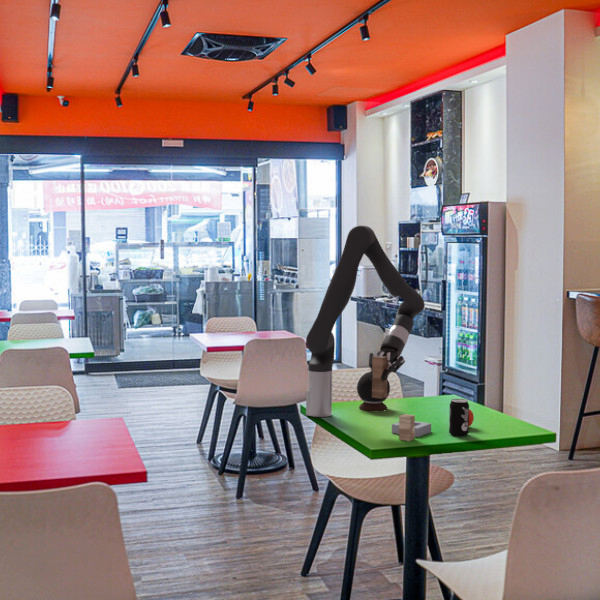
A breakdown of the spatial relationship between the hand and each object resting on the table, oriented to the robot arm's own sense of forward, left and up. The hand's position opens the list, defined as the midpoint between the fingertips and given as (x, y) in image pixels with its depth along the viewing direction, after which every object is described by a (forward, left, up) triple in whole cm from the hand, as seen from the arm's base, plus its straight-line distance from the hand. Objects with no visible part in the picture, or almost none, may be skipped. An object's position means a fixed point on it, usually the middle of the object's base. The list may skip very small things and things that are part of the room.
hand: (376, 379), depth 272 cm
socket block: (+11, +6, -19) cm, 23 cm away
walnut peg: (+1, +2, -7) cm, 7 cm away
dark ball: (-10, +43, -19) cm, 48 cm away
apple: (+27, +20, -19) cm, 39 cm away
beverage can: (+27, +8, -19) cm, 34 cm away
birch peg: (+11, -5, -19) cm, 23 cm away
